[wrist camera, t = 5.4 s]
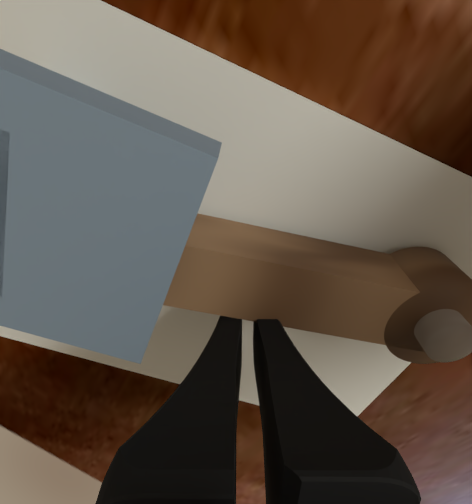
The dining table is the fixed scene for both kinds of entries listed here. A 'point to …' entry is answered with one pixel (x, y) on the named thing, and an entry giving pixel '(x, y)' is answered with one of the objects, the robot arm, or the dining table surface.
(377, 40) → the dining table surface
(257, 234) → the link arm
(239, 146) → the keeper board
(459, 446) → the dining table surface
